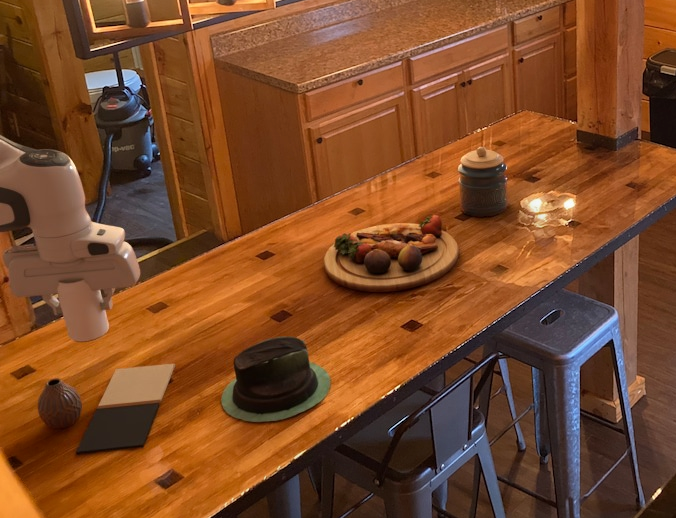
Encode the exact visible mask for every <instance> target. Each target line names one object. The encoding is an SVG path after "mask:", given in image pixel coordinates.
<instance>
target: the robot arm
mask: <svg viewBox="0 0 676 518" xmlns="http://www.w3.org/2000/svg"><path fill="white" fill-rule="evenodd" d="M25 228H30V229H31V231H32V234H33V235H32V236H33V238H34V242H35V243H27V244H23V245H19V244H18V245H11V246H10V247H9V248H7V249H5V250H4V252H3V253H2V260H3V263H4V266H5V267H6V268H7V273H8V274H7V275H8V283H9V288H10V292H11V294H12V295H13V296H15V297H16V298H28V297H40V296H41V298H42V301H43V302H44V303H46V305H48V306H49V307H50V308H52V312H53V315H54V316H60V315H63V312H62V309H61V305H60V301H59V299H58V298H56V296H55V295H58V292H57V288H58V286H59V282H58V281H60V282H73V281H79V280H82V279H84V281H85V282H86V283H87V284H88V285H89V287H90V289H91V290H92V291H93V290H100V291H102V290H103V294H104V295H106V297H105V296H104V297H102V300H101V301H100V306H101V310H105V311H109V310H110V311H111V310H112V309H113V306H114V302H113V299H112V297H113V295H114V293H115V291H116V289H122V288H133V287H134V286H135V285H136V284H137V283H138V280H139V279H140V277H141V268H140V264H139V261H138V259H137V256H136V253H135V251H134V248H133V247H132V245H131V244H129V243H128V242H126V241H125V238H126V231H125V229H124V228H122V227H121V226H114V225H109V224H104V223H99V222H94V221H92V219H91V216H90V214H89V213H88V211H87V208H86V194H85V191H84V187H83V183H82V180H81V177H80V174H79V172H78V169H77V167H76V165H75V163H74V161H73V160H72V159H71V158H70V156H69V155H68V154H67V153H65V152H62V151H61V150H60V151H59V150H56V149H52V148H51V149H50V148H41V149H36V148H33V147H30V146H25V145H22V144H20V143H17V142H15V141H13V140H10V139H9V138H6V137H5V136H3V135H2V134H0V233H6V232H12V231H18V230H22V229H25Z"/></svg>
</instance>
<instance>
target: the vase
mask: <svg viewBox="0 0 676 518" xmlns="http://www.w3.org/2000/svg"><path fill="white" fill-rule="evenodd" d="M82 411H83V401H82V398H81V395H80V393H79V392H78V390H77V389H76V388H75V387H74V386H72V385H70V384H68V383H66V382H64V381H63V380H62V379H60V378H56V377H55V378H52V379H50V380H49V379H48V381H47V382H46V383H45V386H44V389H43V390H42V392H41V393H40V395H39V397H38V400H37V413H38V415H39V418H40V419H41V421H42V422H43V423H44V425H46V426H48V427H49V428H53V429H57V430H58V429H60V430H61V429H65V428H68V427H71V426H72V425H74V424H75V423H76V422H77V421H78V419H79V418H80V416H81V414H82Z"/></svg>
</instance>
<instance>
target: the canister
mask: <svg viewBox="0 0 676 518" xmlns="http://www.w3.org/2000/svg"><path fill="white" fill-rule="evenodd" d="M507 168H508V166H507V163H505V162H504V156H503V155H502V154H501V153H498V152H496V151H494V150H491V149H486V147H484V146H479V147H478V148H477V149H475V150H471V151H468V152H467V153H466V154H464V155H463V156H462V157H461V158H460V164H459V165H458V167H457V172H458V173H459V178H458V185H459V206H460V209H462V210H461V211H462V212H463V213H464V212H465V213H464V214H466V215H468V214H469V215H468V216H470V215H471V217H475V216H479V217H478V218H485V217H484V216H487V217H488V216H489V217H493V216H498V215H500V214H502V213H504V212H505V211H506V210H507V209H506V208H508V203H509V197H508V186H507V185H508V176H507V175H506V171H507ZM503 211H504V212H503ZM497 214H498V215H497ZM487 217H486V218H487Z"/></svg>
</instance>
